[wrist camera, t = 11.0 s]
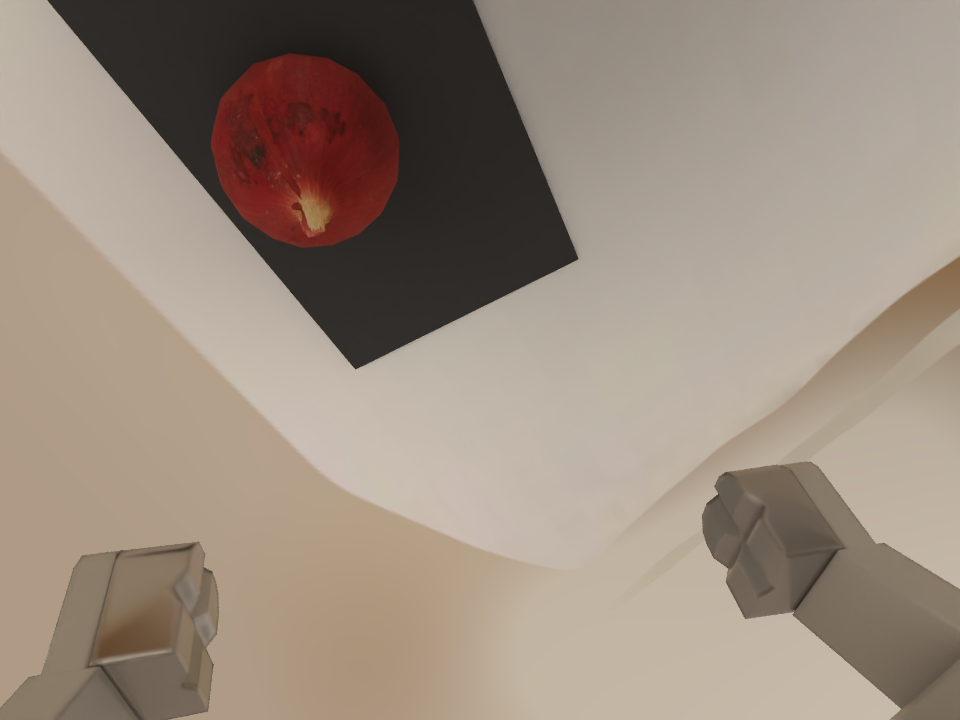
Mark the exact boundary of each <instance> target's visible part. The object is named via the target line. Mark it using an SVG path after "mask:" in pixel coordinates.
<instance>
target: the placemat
mask: <svg viewBox="0 0 960 720" xmlns="http://www.w3.org/2000/svg"><path fill="white" fill-rule="evenodd" d="M48 2H49V3H50V4H51V5H52V6H53V8H54V9H55V10H56V11H57V12H58V14H59V15H60V16H61V17H62V18H63V20H64V21H65V22H66V23H67V24H68V26H69V27H70V28H71V29H72V30H73V32H74V33H75V34H76V35H77V36H78V38H79V39H80V40H81V41H82V42H83V44H84V45H85V46H86V47H87V48H88V49H89V51H90V52H91V53H92V54H93V55H94V57H95V58H96V59H97V60H98V61H99V63H100V64H101V65H102V66H103V67H104V69H105V70H106V71H107V72H108V73H109V75H110V76H111V77H112V78H113V79H114V81H115V82H116V83H117V84H118V85H119V87H120V88H121V89H122V90H123V91H124V93H125V94H126V95H127V96H128V97H129V99H130V100H131V101H132V102H133V103H134V105H135V106H136V107H137V108H138V109H139V111H140V112H141V113H142V114H143V115H144V117H145V118H146V119H147V120H148V121H149V123H150V124H151V125H152V126H153V127H154V129H155V130H156V131H157V132H158V133H159V135H160V136H161V137H162V138H163V139H164V141H165V142H166V143H167V144H168V145H169V147H170V148H171V149H172V150H173V151H174V153H175V154H176V155H177V156H178V157H179V159H180V160H181V161H182V162H183V163H184V165H185V166H186V167H187V168H188V169H189V171H190V172H191V173H192V174H193V175H194V177H195V178H196V179H197V180H198V181H199V183H200V184H201V185H202V186H203V187H204V189H205V190H206V191H207V192H208V193H209V195H210V196H211V197H212V198H213V199H214V201H215V202H216V203H217V204H218V205H219V207H220V208H221V209H222V210H223V211H224V212H225V214H226V215H227V216H228V217H229V218H230V220H231V221H232V222H233V223H234V224H235V226H236V227H237V228H238V229H239V230H240V232H241V233H242V234H243V235H244V236H245V238H246V239H247V240H248V241H249V242H250V244H251V245H252V246H253V247H254V248H255V250H256V251H257V252H258V253H259V254H260V256H261V257H262V258H263V259H264V260H265V262H266V263H267V264H268V265H269V266H270V268H271V269H272V270H273V271H274V272H275V274H276V275H277V276H278V277H279V278H280V280H281V281H282V282H283V283H284V284H285V286H286V287H287V288H288V289H289V290H290V292H291V293H292V294H293V295H294V296H295V298H296V299H297V300H298V301H299V302H300V304H301V305H302V306H303V307H304V308H305V310H306V311H307V312H308V313H309V314H310V316H311V317H312V318H313V319H314V320H315V322H316V323H317V324H318V325H319V326H320V328H321V329H322V330H323V331H324V332H325V334H326V335H327V336H328V337H329V338H330V340H331V341H332V342H333V343H334V344H335V346H336V347H337V348H338V349H339V350H340V352H341V353H342V354H343V355H344V356H345V358H346V359H347V360H348V361H349V362H350V364H351V365H352V366H353V367H354V368H355V369H357V368H359V367H362V366H364V365H366V364H368V363H370V362H372V361H374V360H376V359H378V358H380V357H382V356H384V355H386V354H388V353H390V352H392V351H394V350H396V349H398V348H400V347H402V346H404V345H406V344H408V343H410V342H412V341H414V340H416V339H418V338H420V337H422V336H424V335H426V334H428V333H430V332H432V331H434V330H436V329H438V328H440V327H442V326H444V325H446V324H448V323H450V322H452V321H454V320H457V319H459V318H461V317H463V316H465V315H467V314H469V313H471V312H473V311H475V310H477V309H479V308H481V307H483V306H485V305H487V304H489V303H491V302H493V301H495V300H497V299H499V298H501V297H503V296H505V295H507V294H509V293H511V292H513V291H515V290H517V289H519V288H521V287H523V286H525V285H527V284H529V283H531V282H533V281H535V280H537V279H539V278H541V277H543V276H545V275H547V274H549V273H551V272H554V271H556V270H558V269H560V268H562V267H564V266H566V265H568V264H570V263H572V262H574V261H576V260H578V257H577V254H576V252H575V249H574V247H573V244H572V242H571V240H570V237H569V235H568V232H567V230H566V227H565V225H564V223H563V220H562V218H561V215H560V213H559V210H558V208H557V205H556V203H555V201H554V198H553V196H552V193H551V191H550V188H549V186H548V184H547V181H546V179H545V176H544V174H543V171H542V169H541V166H540V164H539V162H538V159H537V157H536V154H535V152H534V149H533V147H532V145H531V142H530V140H529V137H528V135H527V132H526V130H525V127H524V125H523V123H522V120H521V118H520V115H519V113H518V110H517V108H516V106H515V103H514V101H513V98H512V96H511V93H510V91H509V89H508V86H507V84H506V81H505V79H504V76H503V74H502V71H501V69H500V67H499V64H498V62H497V59H496V57H495V54H494V52H493V50H492V47H491V45H490V42H489V40H488V37H487V35H486V32H485V30H484V28H483V25H482V23H481V20H480V18H479V15H478V13H477V11H476V8H475V6H474V3H473V1H472V0H48ZM289 53H293V54H301V55H309V56H317V57H325V58H329V59H331V60H332V61H334V62H336V63H338V64H340V65H342V66H344V67H345V68H347V69H349V70H351V71H353V72H355V73H357V74H358V75H359V76H360V77H361V78H362V80H363V81H364V82H365V83H366V84H367V85H368V86H369V88H370V89H371V90H372V91H373V92H374V93H375V94H376V95H377V96H378V97H379V98H380V99H381V100H382V101H383V102H384V103H385V105H386V107H387V109H388V112H389V114H390V117H391V119H392V122H393V124H394V127H395V129H396V131H397V134H398V136H399V164H398V181H397V183H396V185H395V187H394V189H393V191H392V193H391V195H390V197H389V199H388V201H387V203H386V205H385V208H384V210H383V211H382V213H381V214H380V215H379V216H378V217H377V218H376V219H375V220H374V221H373V222H372V223H370V224H369V225H368V226H367V227H366V228H365V229H364V230H363V231H362V232H361V233H359V234H358V235H356V236H353V237H351V238H348V239H346V240H344V241H341V242H339V243H336V244H334V245H330V246H317V247H305V248H301V247H298V246H295V245H292V244H289V243H286V242H283V241H280V240H276V239H273V238H272V237H270V236H269V235H267V234H266V233H264V232H263V231H261V230H260V229H258V228H257V227H255V226H254V225H252V224H251V223H249V222H248V221H247V220H245V219H244V218H243V217H242V216H241V214H240V213H239V212H238V210H237V209H236V207H235V206H234V204H233V203H232V202H231V200H230V199H229V197H228V196H227V194H226V193H225V191H224V190H223V188H222V185H221V183H220V180H219V176H218V172H217V168H216V165H215V161H214V157H213V153H212V149H211V137H212V132H213V127H214V123H215V119H216V115H217V111H218V107H219V102H220V99H221V98H222V96H223V95H224V94H225V93H226V92H227V91H228V90H229V89H230V87H231V86H232V85H233V84H234V83H235V82H236V81H237V80H238V79H239V78H240V77H241V76H242V75H243V74H244V73H245V72H246V71H247V70H248V69H249V68H250V67H251V66H252V64H254V63H258V62H261V61H265V60H268V59H271V58H275V57H278V56H282V55H285V54H289Z"/></svg>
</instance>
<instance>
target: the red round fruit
mask: <svg viewBox="0 0 960 720" xmlns="http://www.w3.org/2000/svg"><path fill="white" fill-rule="evenodd" d="M211 149H212V153H213V157H214V161H215V165H216V168H217V172H218V176H219V180H220V183H221V185H222V188H223V190H224V191H225V193H226V194H227V196H228V197H229V199H230V200H231V202H232V203H233V204H234V206H235V207H236V209H237V210H238V212H239V213H240V214H241V216H242V217H243V218H244V219H245V220H247V221H248V222H249V223H251V224H252V225H254V226H255V227H257V228H258V229H260V230H261V231H263V232H264V233H266V234H267V235H269V236H270V237H272V238H273V239H276V240H280V241H283V242H286V243H289V244H292V245H295V246H298V247H301V248H305V247H317V246H330V245H334V244H336V243H339V242H341V241H344V240H346V239H348V238H351V237H353V236H356V235H358V234H359V233H361V232H362V231H363V230H364V229H365V228H366V227H367V226H368V225H369V224H370V223H372V222H373V221H374V220H375V219H376V218H377V217H378V216H379V215H380V214H381V213H382V211H383V210H384V208H385V205H386V203H387V201H388V199H389V197H390V195H391V193H392V191H393V189H394V187H395V185H396V183H397V181H398V164H399V136H398V134H397V131H396V129H395V127H394V124H393V122H392V119H391V117H390V114H389V112H388V109H387V107H386V105H385V103H384V102H383V101H382V100H381V99H380V98H379V97H378V96H377V95H376V94H375V93H374V92H373V91H372V90H371V89H370V88H369V86H368V85H367V84H366V83H365V82H364V81H363V80H362V78H361V77H360V76H359V75H358V74H357V73H355V72H353V71H351V70H349V69H347V68H345V67H344V66H342V65H340V64H338V63H336V62H334V61H332V60H331V59H329V58H325V57H317V56H309V55H301V54H293V53H289V54H285V55H282V56H278V57H275V58H271V59H268V60H265V61H261V62H258V63H254V64H252V66H251V67H250V68H249V69H248V70H247V71H246V72H245V73H244V74H243V75H242V76H241V77H240V78H239V79H238V80H237V81H236V82H235V83H234V84H233V85H232V86H231V87H230V89H229V90H228V91H227V92H226V93H225V94H224V95H223V96H222V98H221V99H220V102H219V107H218V111H217V115H216V119H215V123H214V127H213V132H212V137H211Z"/></svg>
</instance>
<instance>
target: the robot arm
mask: <svg viewBox="0 0 960 720" xmlns="http://www.w3.org/2000/svg"><path fill="white" fill-rule="evenodd" d="M714 487H715V488H716V490H717V492H718V495H717V496H715V497H714V498H713V499H712V500H710V501H709V502H708V503H707V504H706V507H705V510H704V512H703V515H702V524H703V534H704V537H705V540H706V544H707V546H708V548H709V550H710V552H711V554H712V556H713V558H714V559H716V560H717V561H719V562H720V563H721V564H723V565H724V566H726V567H727V568H728V572H727V578H726V583H727V585H728V587H729V589H730V591H731V593H732V595H733V597H734V598H735V600H736V602H737V604H738V606H739V608H740V610H741V612H742V614H743V615H744V617H745V619H748V618H755V617H762V616H769V615H776V614H783V613H789V612H794V613H793V616H794V617H796V618H797V619H798V620H799V621H800V622H801V623H803V624H804V625H805V626H806V627H807V628H808V629H810V630H811V631H812V632H813V633H814V634H815V635H816V636H818V637H819V638H820V639H821V640H822V641H823V642H825V643H826V644H827V645H828V646H829V647H830V648H831V649H833V650H834V651H835V652H836V653H837V654H839V655H840V656H841V657H842V658H843V659H844V660H845V661H847V662H848V663H849V664H850V665H851V666H852V667H854V668H855V669H856V670H857V671H858V672H859V673H860V674H862V675H863V676H864V677H865V678H866V679H867V680H869V681H870V682H871V683H872V684H873V685H874V686H875V687H877V688H878V689H879V690H880V691H882V693H884V694H885V695H886V696H887V697H888V698H889V699H891V700H892V701H893V702H894V703H895V704H896V705H898V706H899V707H900V708H901V710H900V711H899V712H898V713H897V714H896V715H894V716H893V717H892V718H891V719H890V720H960V589H959V588H957V587H955V586H954V585H952V584H950V583H949V582H947V581H945V580H944V579H942V578H940V577H939V576H937V575H936V574H934V573H932V572H931V571H929V570H927V569H926V568H924V567H922V566H921V565H919V564H918V563H916V562H914V561H913V560H911V559H910V558H908V557H906V556H904V555H903V554H901V553H900V552H898V551H896V550H895V549H893V548H891V547H890V546H888V545H887V544H885V543H881V544H876V543H875V542H874V541H873V539H872V538H871V537H870V535H869V534H868V532H867V531H866V530H865V528H864V527H863V526H862V525H861V523H860V522H859V520H858V519H857V518H856V517H855V515H854V514H853V513H852V511H851V510H850V508H849V507H848V506H847V504H846V503H845V502H844V500H843V499H842V498H841V496H840V495H839V494H838V492H837V491H836V490H835V489H834V487H833V486H832V484H831V483H830V482H829V480H828V479H827V478H826V476H825V475H824V473H823V472H822V471H821V469H819V467H818V466H816V465H815V464H813V463H812V462H798V463H792V464H785V465H772V466H765V467H759V468H751V469H745V470H738V471H731V472H726V473H724V474H722V475H721V476H719V477H718V480H717V482H716V484H715V486H714ZM204 559H205V553H204V551H203V548H202V546H201V544H200V542H192V543H183V544H175V545H166V546H158V547H149V548H142V549H132V550H120V551H113V552H105V553H98V554H90V555H83V556H81V558H80V560H79V561H78V562H77V564H76V566H75V567H74V568H73V572H72V575H71V578H70V582H69V585H68V588H67V591H66V595H65V598H64V601H63V604H62V607H61V611H60V614H59V618H58V621H57V624H56V627H55V630H54V634H53V637H52V640H51V644H50V647H49V650H48V653H47V657H46V660H45V663H44V666H43V670H42V673H41V675H38V676H32V677H28V678H27V680H26V681H25V682H24V683H23V684H22V685H21V686H20V687H19V688H18V689H17V690H16V691H15V692H14V694H13V695H12V696H11V697H10V698H9V699H8V700H7V701H6V702H5V703H4V704H3V706H2V707H1V708H0V720H168V719H172V718H178V717H183V716H188V715H193V714H198V713H202V712H207V711H208V707H209V699H210V691H211V682H212V674H213V665H214V664H213V662H212V660H211V658H210V656H209V653H208V651H207V649H206V647H207V646H208V645H209V643H210V642H211V641H212V640H213V638H214V637H215V636H216V635H217V629H218V618H219V602H218V590H217V584H216V580H215V577H214V575H213V572H212V571H210V570H208V569H206V568H204Z"/></svg>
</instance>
